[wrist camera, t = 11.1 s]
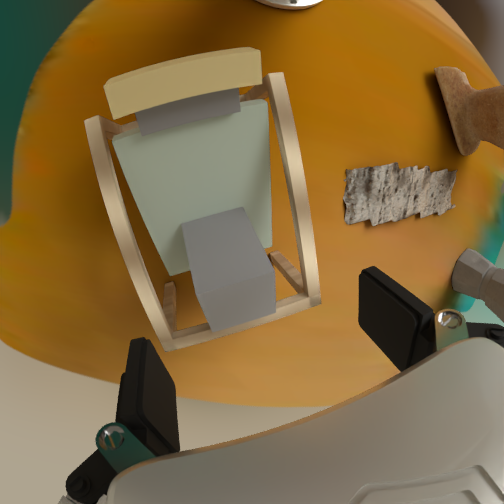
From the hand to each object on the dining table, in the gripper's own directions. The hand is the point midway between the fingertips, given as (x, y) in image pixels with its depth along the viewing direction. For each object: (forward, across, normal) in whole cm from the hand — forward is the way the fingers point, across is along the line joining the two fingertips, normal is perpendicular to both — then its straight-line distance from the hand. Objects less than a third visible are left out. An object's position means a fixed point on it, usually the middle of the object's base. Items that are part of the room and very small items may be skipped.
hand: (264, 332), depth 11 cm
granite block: (+13, 0, 0) cm, 13 cm away
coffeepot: (+19, -44, +22) cm, 53 cm away
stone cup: (+20, -41, -9) cm, 47 cm away
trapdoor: (+12, 0, -5) cm, 13 cm away
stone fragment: (+20, -27, +3) cm, 34 cm away
